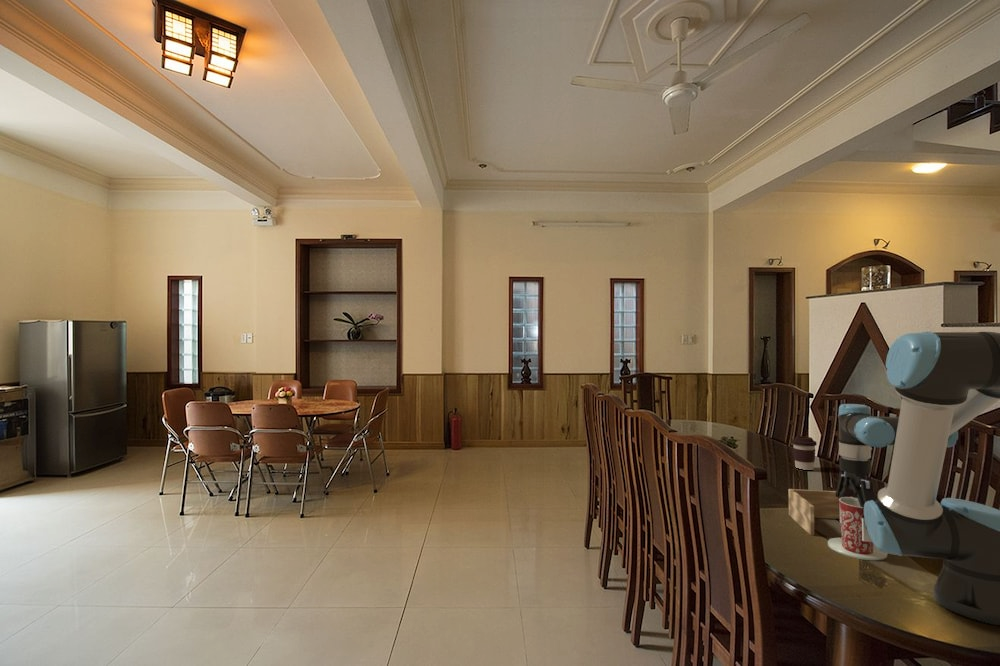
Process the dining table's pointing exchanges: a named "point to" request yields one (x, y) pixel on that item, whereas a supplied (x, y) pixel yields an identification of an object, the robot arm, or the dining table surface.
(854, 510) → the mug
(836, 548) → the disc
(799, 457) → the coffee cup
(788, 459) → the dining table surface
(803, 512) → the crate
